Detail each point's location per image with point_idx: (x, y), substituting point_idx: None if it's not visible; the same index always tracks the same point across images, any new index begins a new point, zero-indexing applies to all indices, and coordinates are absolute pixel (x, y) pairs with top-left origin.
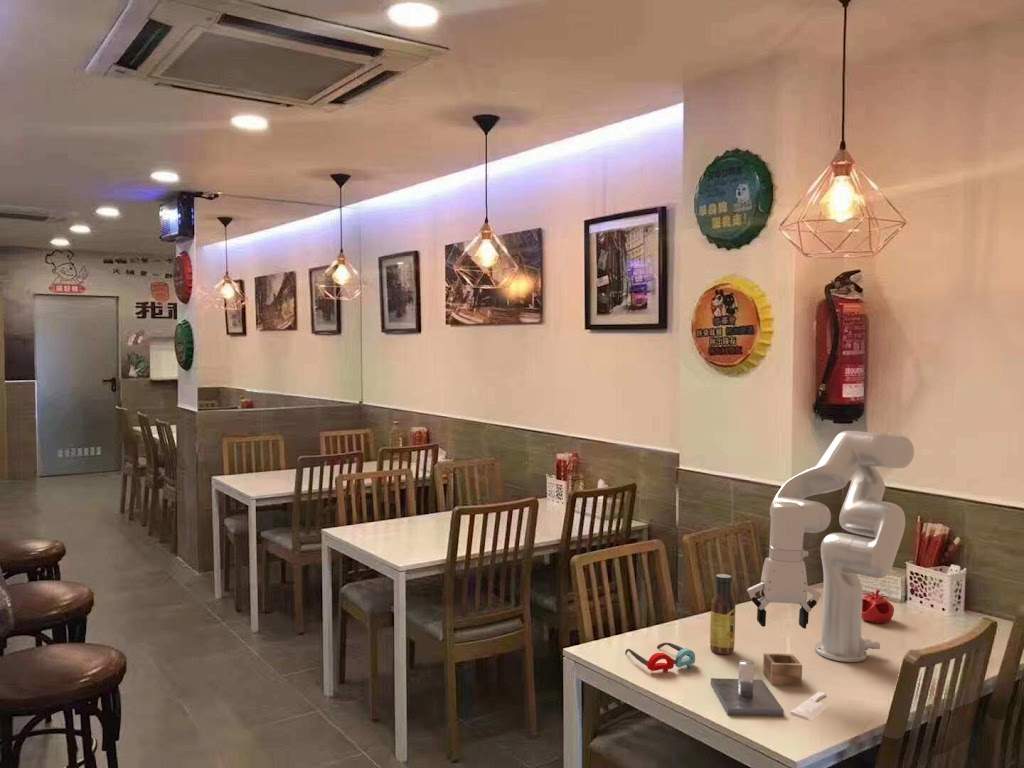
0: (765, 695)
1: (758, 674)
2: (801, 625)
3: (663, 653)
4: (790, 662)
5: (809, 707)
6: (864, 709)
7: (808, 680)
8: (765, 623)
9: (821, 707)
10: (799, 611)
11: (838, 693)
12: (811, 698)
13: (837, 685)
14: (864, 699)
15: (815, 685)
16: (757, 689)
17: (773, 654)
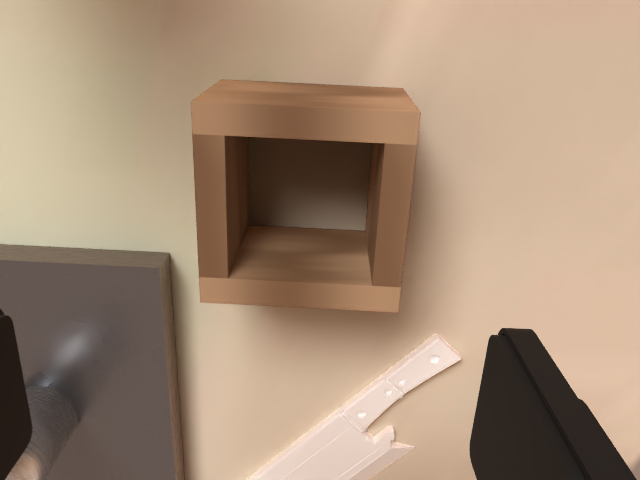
0: (134, 433)
1: (189, 94)
2: (480, 418)
3: None
4: (379, 157)
5: (315, 477)
6: None
7: (463, 179)
8: (15, 463)
9: (371, 468)
10: (553, 453)
11: (537, 332)
12: (362, 406)
13: (594, 243)
14: (625, 389)
15: (469, 243)
16: (109, 377)
17: (263, 124)
